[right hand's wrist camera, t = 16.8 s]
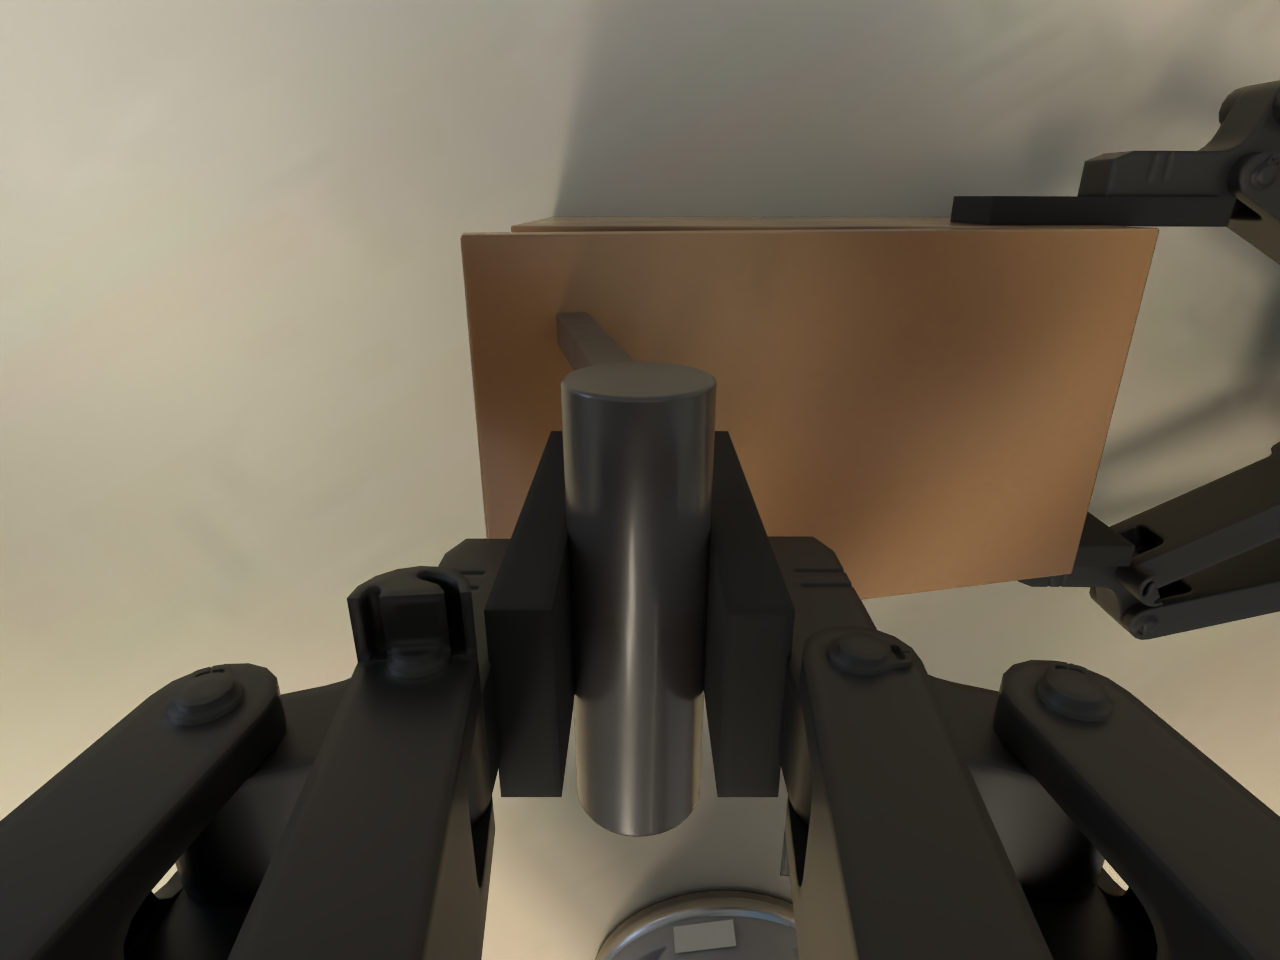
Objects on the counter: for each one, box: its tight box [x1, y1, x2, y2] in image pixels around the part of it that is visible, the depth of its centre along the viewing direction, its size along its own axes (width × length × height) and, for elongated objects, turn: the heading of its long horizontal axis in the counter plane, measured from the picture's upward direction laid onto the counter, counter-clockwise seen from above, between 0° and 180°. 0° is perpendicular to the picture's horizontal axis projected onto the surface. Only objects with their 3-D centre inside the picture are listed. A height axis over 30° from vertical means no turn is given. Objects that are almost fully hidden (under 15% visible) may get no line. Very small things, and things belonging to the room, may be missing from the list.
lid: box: [460, 227, 1159, 836], centre depth 15 cm, size 17×10×9 cm, turn 90°
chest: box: [511, 217, 1127, 232], centre depth 25 cm, size 16×10×9 cm, turn 90°
